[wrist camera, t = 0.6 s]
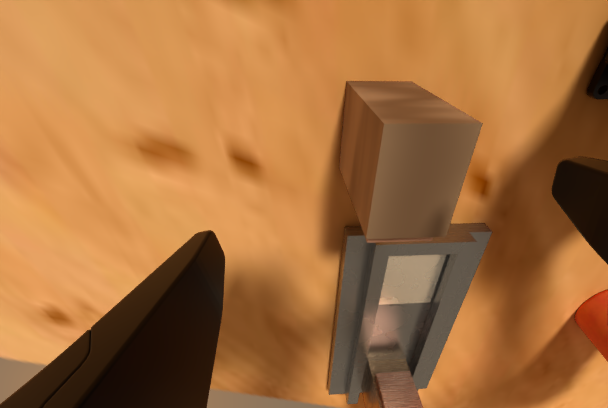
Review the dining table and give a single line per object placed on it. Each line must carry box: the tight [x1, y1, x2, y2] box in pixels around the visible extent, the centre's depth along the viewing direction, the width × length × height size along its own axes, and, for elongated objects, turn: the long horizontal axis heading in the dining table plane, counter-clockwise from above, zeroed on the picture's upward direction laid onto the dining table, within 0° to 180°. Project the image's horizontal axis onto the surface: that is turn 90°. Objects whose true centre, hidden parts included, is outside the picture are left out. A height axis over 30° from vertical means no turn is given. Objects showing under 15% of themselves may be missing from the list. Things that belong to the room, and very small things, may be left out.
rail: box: [328, 223, 492, 408], centre depth 24 cm, size 10×20×8 cm, turn 179°
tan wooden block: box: [339, 81, 483, 243], centre depth 15 cm, size 4×6×7 cm, turn 179°
